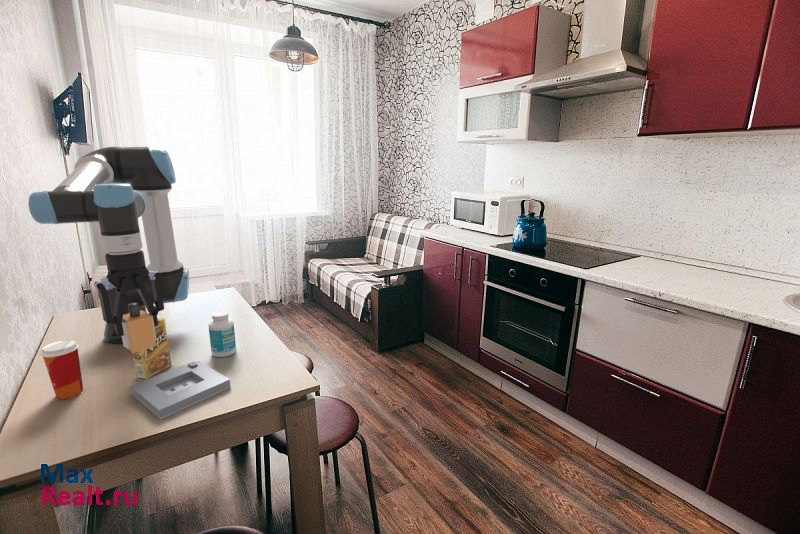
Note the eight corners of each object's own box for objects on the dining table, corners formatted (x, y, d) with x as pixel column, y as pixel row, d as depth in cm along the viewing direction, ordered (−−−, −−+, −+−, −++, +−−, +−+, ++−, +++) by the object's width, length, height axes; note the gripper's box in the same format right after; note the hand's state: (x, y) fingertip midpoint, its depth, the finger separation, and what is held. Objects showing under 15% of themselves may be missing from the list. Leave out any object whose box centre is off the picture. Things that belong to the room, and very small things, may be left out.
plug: (124, 345, 100) (117, 304, 97) (147, 339, 104) (140, 298, 101) (133, 353, 97) (125, 309, 94) (156, 345, 100) (149, 304, 97)
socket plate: (131, 393, 108) (129, 383, 107) (198, 367, 121) (196, 358, 121) (160, 419, 97) (158, 408, 96) (230, 387, 111) (229, 377, 110)
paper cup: (65, 386, 111) (54, 339, 108) (94, 385, 112) (84, 338, 108) (43, 402, 104) (30, 352, 100) (75, 401, 104) (63, 351, 101)
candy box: (147, 380, 115) (138, 329, 111) (135, 377, 116) (126, 328, 112) (172, 365, 123) (165, 318, 119) (161, 363, 124) (154, 316, 120)
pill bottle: (227, 359, 127) (222, 319, 123) (206, 357, 128) (201, 317, 125) (241, 349, 134) (237, 310, 130) (221, 346, 135) (216, 309, 132)
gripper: (81, 260, 85) (101, 360, 91) (171, 247, 99) (184, 335, 104) (71, 255, 90) (91, 351, 96) (159, 243, 103) (172, 327, 109)
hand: (140, 342), depth 100 cm, fingers closed on plug, 5 cm apart
